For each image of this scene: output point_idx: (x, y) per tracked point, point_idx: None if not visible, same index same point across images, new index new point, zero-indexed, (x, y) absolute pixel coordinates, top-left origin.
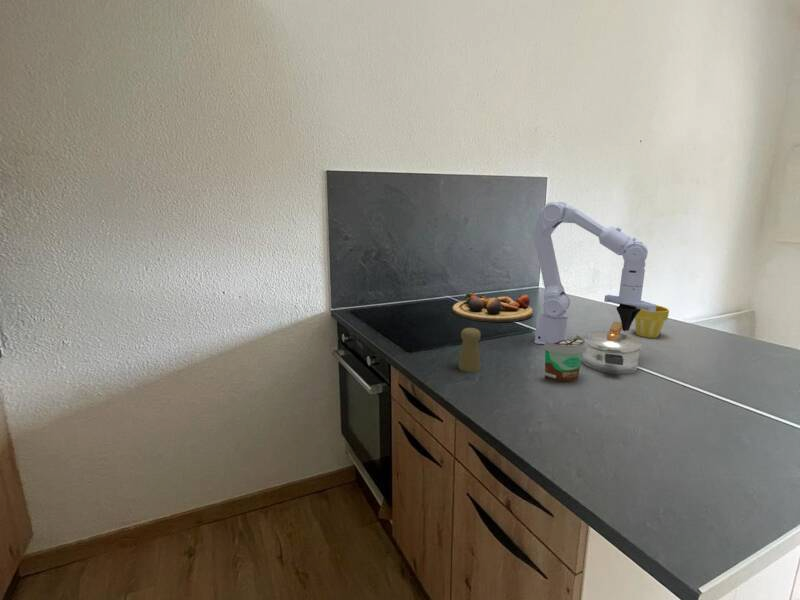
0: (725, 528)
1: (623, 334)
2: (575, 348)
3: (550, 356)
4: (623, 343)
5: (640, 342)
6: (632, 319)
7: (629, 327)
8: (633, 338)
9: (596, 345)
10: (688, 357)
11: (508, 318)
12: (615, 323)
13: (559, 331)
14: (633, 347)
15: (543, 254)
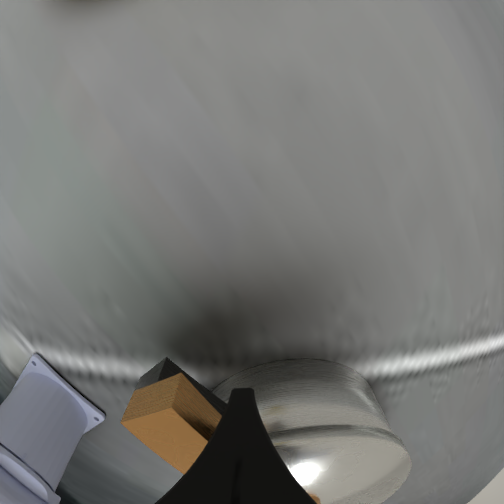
0: (484, 483)
1: (287, 452)
2: None
3: None
4: (355, 496)
5: (401, 454)
6: (273, 460)
7: (255, 405)
8: (358, 451)
9: None
10: (415, 61)
11: None
12: (174, 455)
13: (70, 454)
14: (396, 488)
15: None
